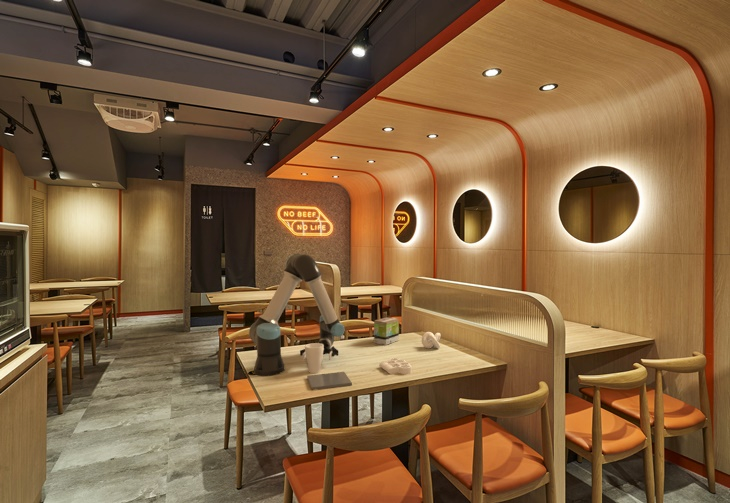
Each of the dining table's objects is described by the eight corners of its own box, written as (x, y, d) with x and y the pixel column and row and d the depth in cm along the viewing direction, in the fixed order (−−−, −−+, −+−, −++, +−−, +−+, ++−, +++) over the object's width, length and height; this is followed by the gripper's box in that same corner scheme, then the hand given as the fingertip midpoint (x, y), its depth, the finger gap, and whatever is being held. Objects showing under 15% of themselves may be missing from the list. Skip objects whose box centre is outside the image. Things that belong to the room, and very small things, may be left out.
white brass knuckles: (376, 366, 199) (401, 362, 205) (391, 377, 183) (418, 373, 188) (376, 360, 199) (401, 356, 205) (391, 370, 182) (418, 366, 188)
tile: (311, 390, 167) (311, 387, 167) (307, 378, 182) (307, 375, 182) (351, 385, 172) (351, 382, 172) (344, 374, 187) (344, 371, 187)
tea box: (386, 345, 239) (386, 322, 239) (373, 343, 245) (373, 320, 245) (399, 340, 251) (399, 318, 251) (386, 338, 257) (386, 316, 257)
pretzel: (420, 349, 229) (420, 334, 228) (423, 344, 240) (422, 330, 240) (439, 350, 225) (439, 335, 225) (441, 345, 237) (441, 331, 237)
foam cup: (326, 368, 196) (325, 343, 196) (322, 374, 187) (321, 348, 187) (308, 368, 197) (307, 343, 197) (303, 374, 188) (302, 347, 188)
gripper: (345, 352, 213) (341, 364, 192) (301, 352, 215) (292, 364, 194) (345, 339, 213) (340, 349, 192) (301, 339, 215) (291, 349, 194)
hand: (316, 357), depth 193 cm, fingers open, 13 cm apart
